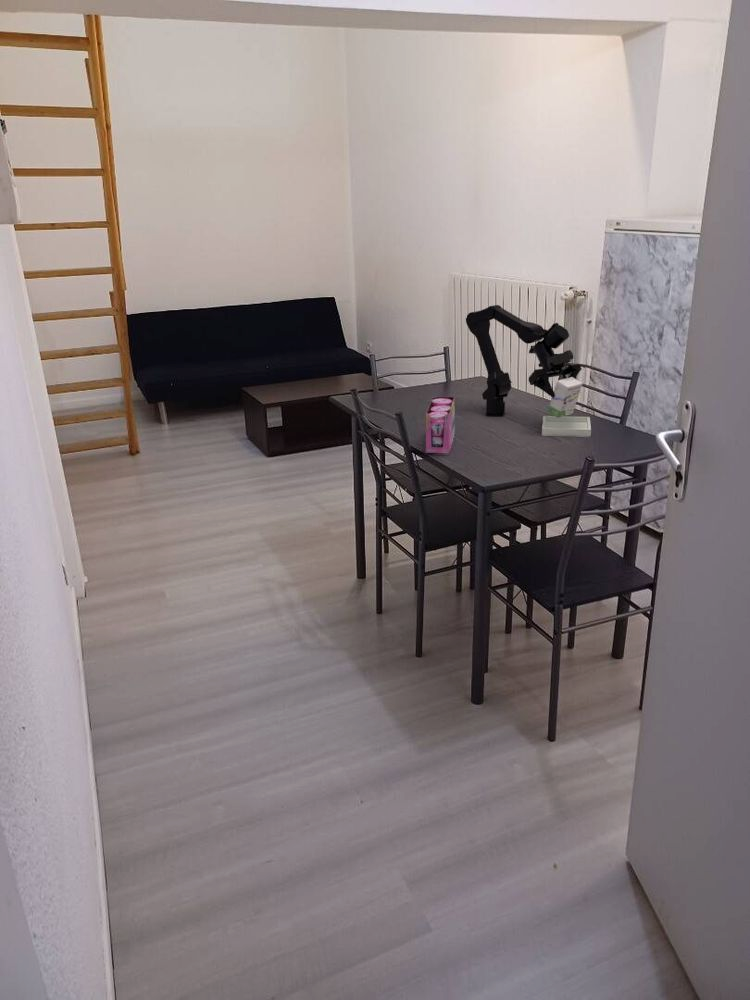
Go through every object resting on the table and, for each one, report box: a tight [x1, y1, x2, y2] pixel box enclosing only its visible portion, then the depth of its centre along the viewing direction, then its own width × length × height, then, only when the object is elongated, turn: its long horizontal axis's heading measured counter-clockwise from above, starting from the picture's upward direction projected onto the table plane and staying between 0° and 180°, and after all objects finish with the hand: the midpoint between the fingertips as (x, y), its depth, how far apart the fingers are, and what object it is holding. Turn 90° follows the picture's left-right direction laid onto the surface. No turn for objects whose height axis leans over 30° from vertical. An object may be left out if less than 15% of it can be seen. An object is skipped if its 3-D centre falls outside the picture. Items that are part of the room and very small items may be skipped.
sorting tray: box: [541, 415, 592, 438], centre depth 263 cm, size 16×16×2 cm
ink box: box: [547, 377, 583, 418], centre depth 256 cm, size 8×5×12 cm, turn 130°
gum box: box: [425, 396, 456, 454], centre depth 251 cm, size 24×8×14 cm, turn 170°
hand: (565, 395), depth 255 cm, fingers closed on ink box, 9 cm apart
